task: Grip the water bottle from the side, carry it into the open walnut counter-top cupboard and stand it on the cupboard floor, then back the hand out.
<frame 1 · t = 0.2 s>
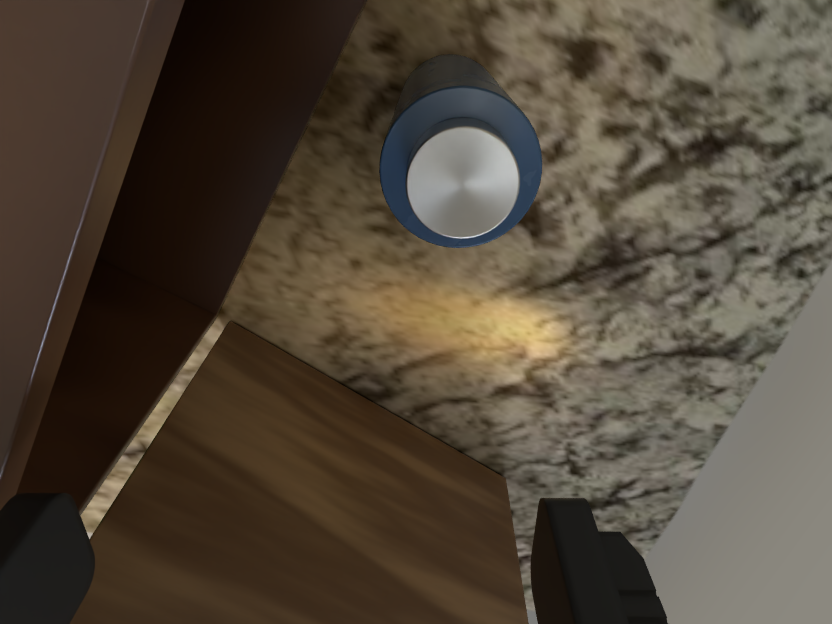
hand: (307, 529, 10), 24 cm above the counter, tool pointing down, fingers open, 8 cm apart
cupboard door: (322, 589, 30), point 12 cm above the counter, hinge at 95.0°
cupboard: (146, 88, 30), on the counter
water bottle: (449, 109, 30), on the counter
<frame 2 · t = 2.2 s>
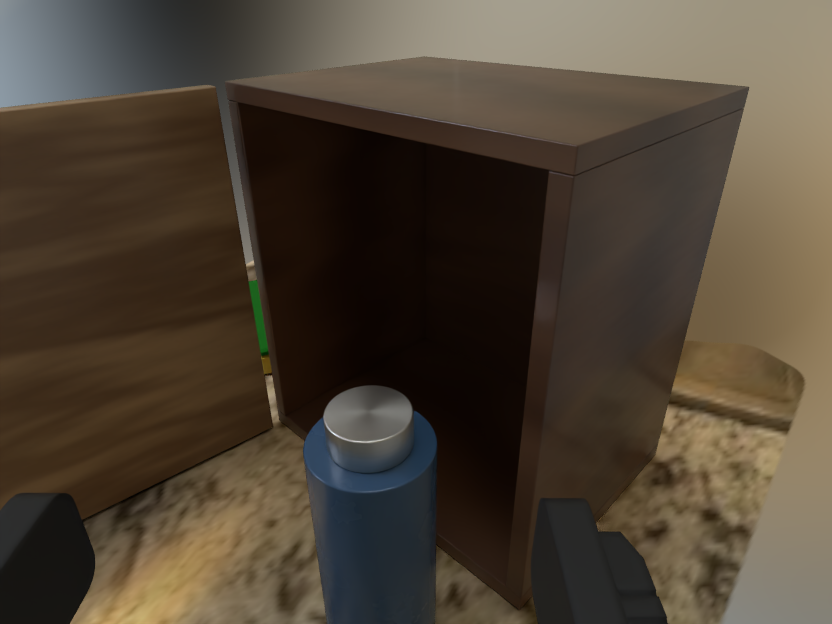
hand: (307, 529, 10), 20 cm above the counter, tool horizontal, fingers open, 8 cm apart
cupboard door: (44, 321, 33), point 12 cm above the counter, hinge at 95.0°
cupboard: (459, 436, 42), on the counter
dish sponge: (284, 330, 56), on the counter
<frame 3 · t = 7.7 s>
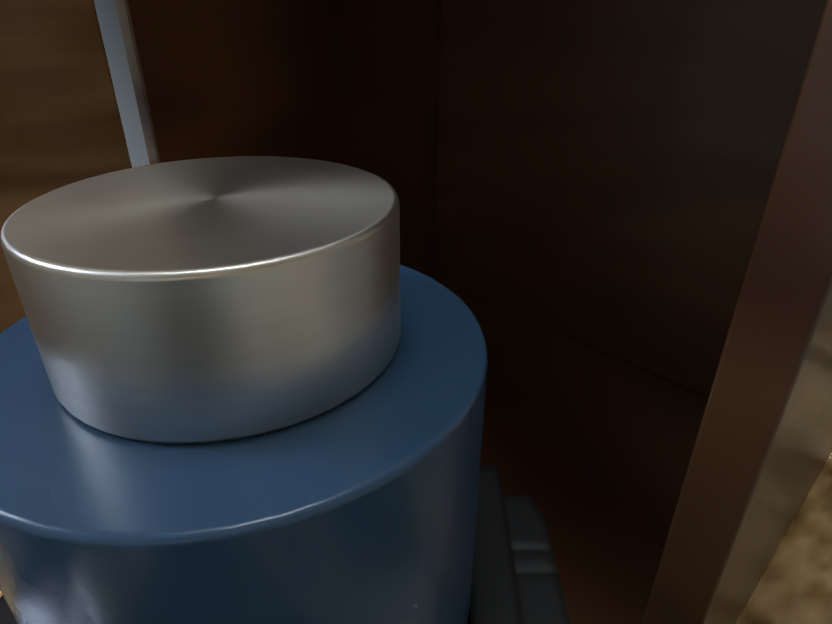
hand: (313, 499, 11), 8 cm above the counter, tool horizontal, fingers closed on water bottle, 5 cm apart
cupboard: (489, 420, 25), on the counter
when the fingers open (9 cm above the counter, at t = 12.7 s): water bottle stays where it is, resting on cupboard.
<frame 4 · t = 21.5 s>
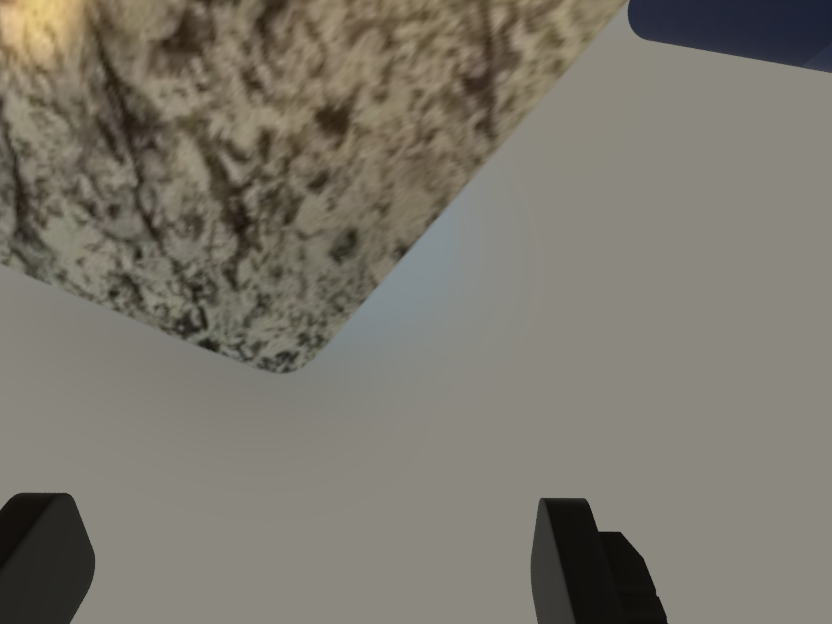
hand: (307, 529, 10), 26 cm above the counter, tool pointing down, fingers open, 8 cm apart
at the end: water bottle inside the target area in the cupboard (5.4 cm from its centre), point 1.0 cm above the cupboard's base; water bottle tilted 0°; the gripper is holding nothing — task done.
